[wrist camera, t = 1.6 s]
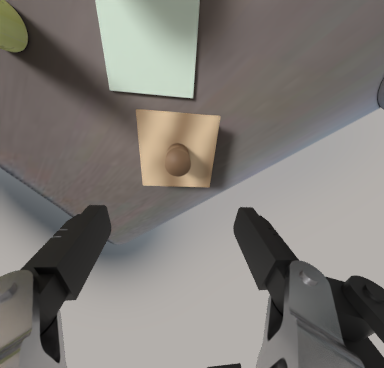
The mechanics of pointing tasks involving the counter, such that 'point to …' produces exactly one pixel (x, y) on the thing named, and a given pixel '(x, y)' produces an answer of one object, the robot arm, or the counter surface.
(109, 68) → the mat
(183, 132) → the lid
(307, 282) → the robot arm
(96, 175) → the counter surface
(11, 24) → the tube
